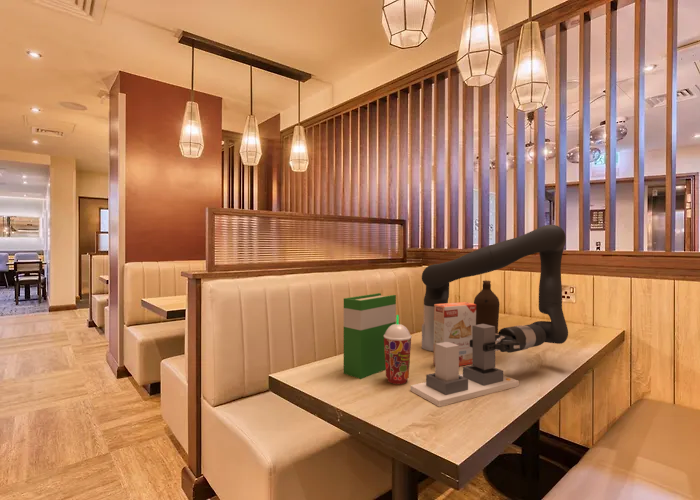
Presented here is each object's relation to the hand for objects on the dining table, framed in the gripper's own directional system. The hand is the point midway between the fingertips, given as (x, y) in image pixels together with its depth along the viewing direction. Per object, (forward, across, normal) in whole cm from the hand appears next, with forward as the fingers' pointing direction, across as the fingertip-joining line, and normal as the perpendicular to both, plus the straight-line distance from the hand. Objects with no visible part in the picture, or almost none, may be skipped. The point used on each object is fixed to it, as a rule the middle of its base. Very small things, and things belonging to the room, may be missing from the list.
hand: (477, 345), depth 112 cm
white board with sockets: (+5, 0, +12) cm, 13 cm away
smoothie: (+18, -14, +12) cm, 26 cm away
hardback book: (+20, -27, +12) cm, 36 cm away
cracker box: (-8, -18, +12) cm, 23 cm away
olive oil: (-47, -39, +12) cm, 62 cm away
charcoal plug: (-3, 0, +6) cm, 7 cm away
